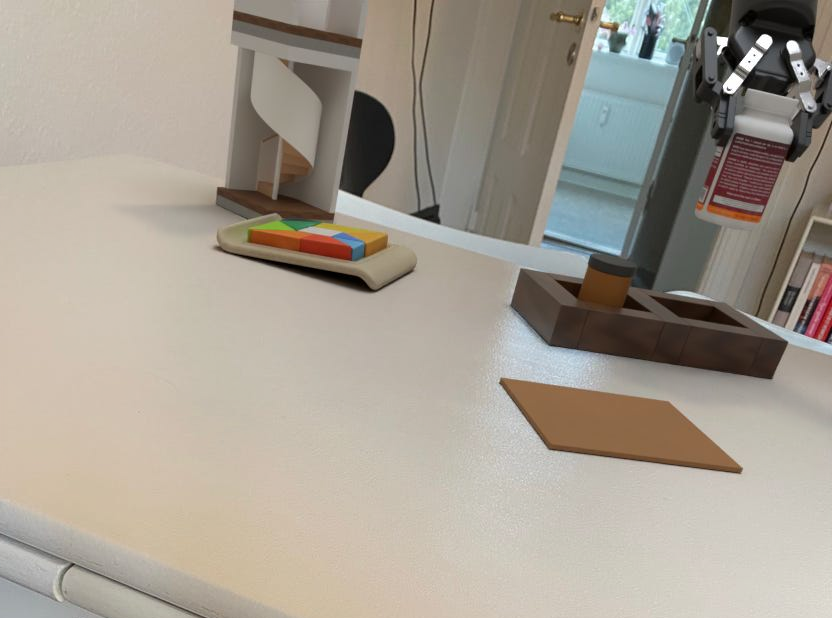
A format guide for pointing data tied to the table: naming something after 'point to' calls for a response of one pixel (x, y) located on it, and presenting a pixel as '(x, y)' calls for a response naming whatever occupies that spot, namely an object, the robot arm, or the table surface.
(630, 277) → the spice jar
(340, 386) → the table surface
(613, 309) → the bottle rack
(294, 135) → the spiral staircase model
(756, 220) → the pill bottle
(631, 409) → the cork mat
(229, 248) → the wooden puzzle
